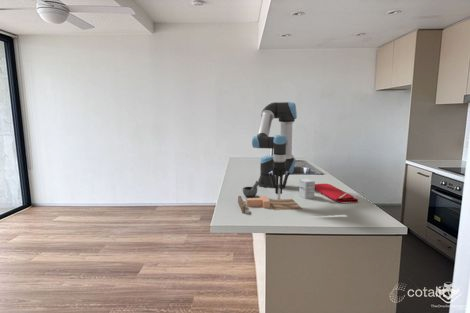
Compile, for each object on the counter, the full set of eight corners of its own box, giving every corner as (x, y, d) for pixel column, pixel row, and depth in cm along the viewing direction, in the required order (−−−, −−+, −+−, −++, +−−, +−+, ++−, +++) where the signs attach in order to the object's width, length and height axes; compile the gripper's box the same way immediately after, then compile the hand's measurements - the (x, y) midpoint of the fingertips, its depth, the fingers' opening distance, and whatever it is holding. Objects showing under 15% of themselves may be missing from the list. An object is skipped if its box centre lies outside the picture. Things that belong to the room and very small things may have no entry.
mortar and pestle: (242, 200, 191) (242, 182, 189) (242, 196, 200) (242, 179, 198) (259, 200, 190) (259, 182, 188) (259, 196, 199) (259, 179, 197)
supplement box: (298, 197, 197) (299, 179, 195) (307, 196, 200) (308, 178, 198) (304, 200, 190) (305, 181, 188) (314, 199, 193) (315, 180, 191)
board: (238, 202, 186) (238, 195, 185) (292, 200, 190) (292, 194, 189) (242, 213, 166) (242, 205, 166) (302, 211, 170) (303, 203, 170)
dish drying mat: (329, 186, 228) (329, 182, 227) (358, 202, 188) (358, 197, 187) (310, 187, 226) (310, 182, 225) (335, 203, 186) (335, 198, 185)
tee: (245, 202, 182) (245, 196, 181) (265, 202, 183) (266, 196, 183) (248, 208, 171) (248, 201, 170) (270, 207, 172) (270, 201, 172)
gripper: (270, 162, 170) (269, 201, 174) (291, 162, 172) (290, 200, 176) (267, 160, 177) (266, 197, 182) (288, 159, 179) (287, 196, 183)
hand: (278, 198), depth 179 cm, fingers closed
